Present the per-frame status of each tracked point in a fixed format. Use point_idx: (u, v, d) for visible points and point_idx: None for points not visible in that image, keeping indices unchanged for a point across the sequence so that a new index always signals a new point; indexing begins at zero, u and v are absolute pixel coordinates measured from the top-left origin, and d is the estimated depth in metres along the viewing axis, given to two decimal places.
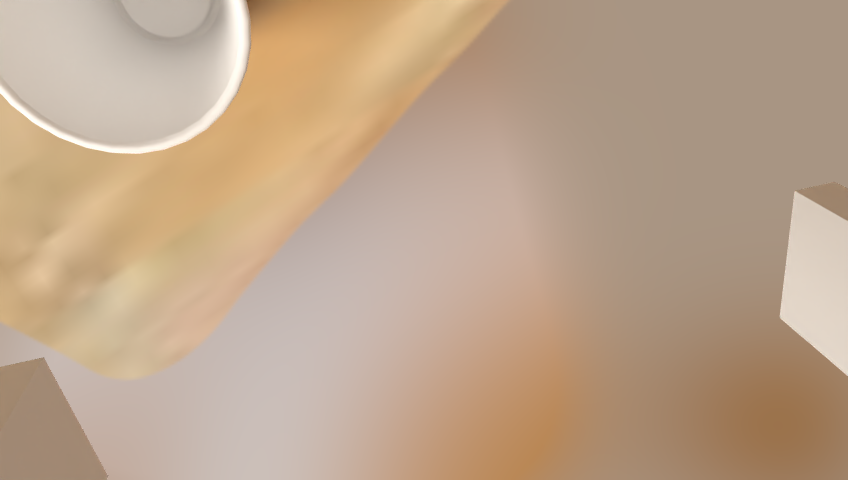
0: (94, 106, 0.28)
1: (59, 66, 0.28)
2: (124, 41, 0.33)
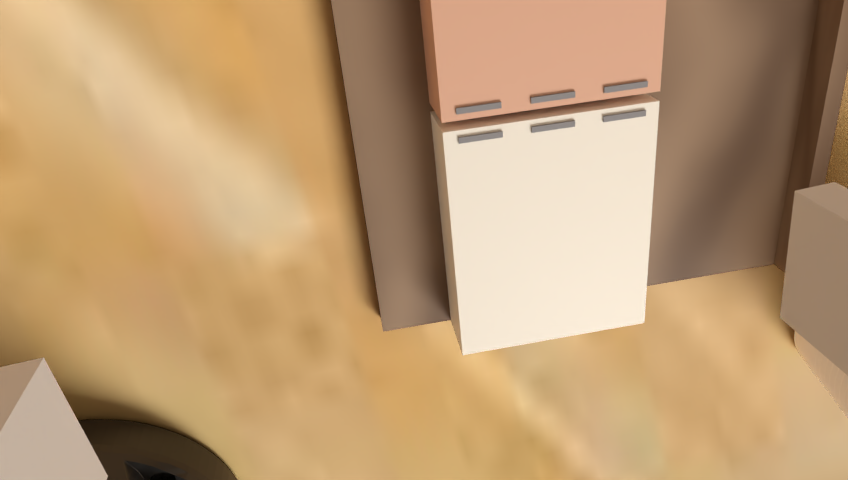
0: None
1: None
2: None
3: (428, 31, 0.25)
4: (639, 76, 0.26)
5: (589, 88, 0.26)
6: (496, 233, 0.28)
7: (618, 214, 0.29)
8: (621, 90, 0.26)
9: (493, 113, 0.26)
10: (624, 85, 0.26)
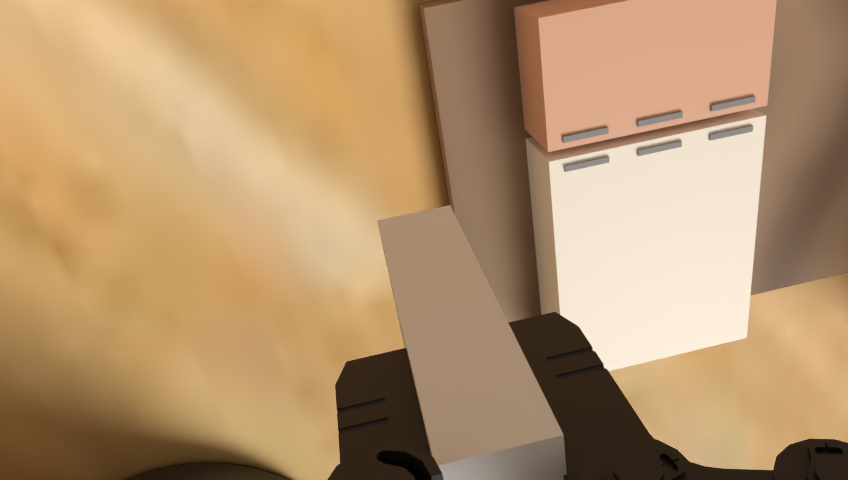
0: None
1: None
2: None
3: (530, 60, 0.25)
4: (746, 92, 0.25)
5: (696, 107, 0.25)
6: (601, 258, 0.28)
7: (722, 231, 0.28)
8: (728, 107, 0.26)
9: (599, 139, 0.25)
10: (731, 102, 0.26)
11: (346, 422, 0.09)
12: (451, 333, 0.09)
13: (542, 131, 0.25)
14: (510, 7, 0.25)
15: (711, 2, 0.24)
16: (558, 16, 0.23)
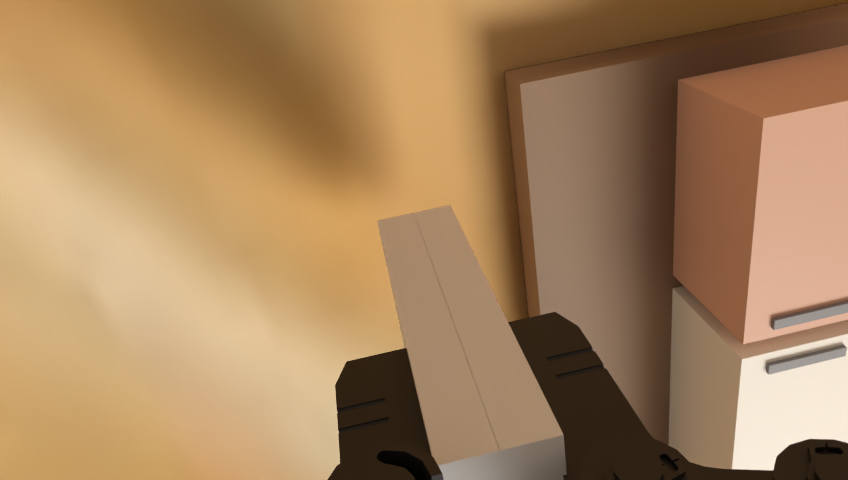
0: None
1: None
2: None
3: (718, 181, 0.14)
4: None
5: None
6: None
7: None
8: None
9: (835, 319, 0.14)
10: None
11: (346, 422, 0.09)
12: (451, 333, 0.09)
13: (731, 305, 0.14)
14: (673, 80, 0.14)
15: None
16: (802, 113, 0.12)
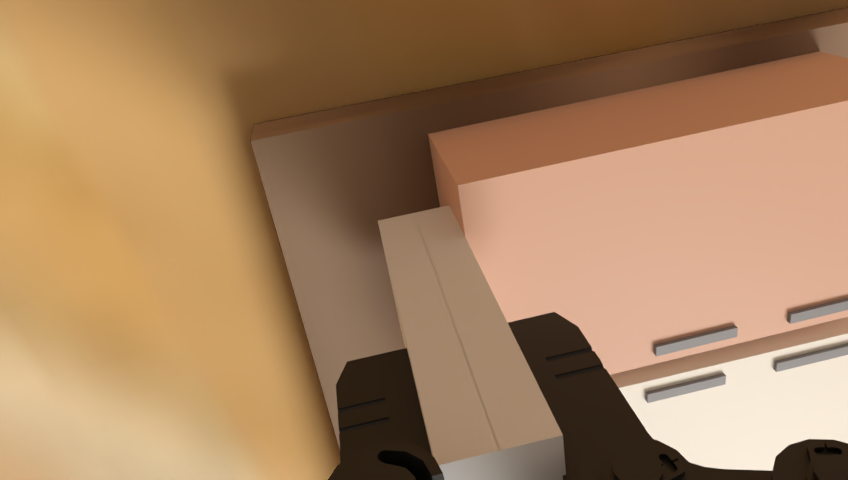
0: None
1: None
2: None
3: None
4: None
5: (762, 318, 0.14)
6: None
7: None
8: (820, 315, 0.14)
9: None
10: (826, 306, 0.14)
11: (346, 422, 0.09)
12: (451, 333, 0.09)
13: None
14: (416, 135, 0.14)
15: (800, 142, 0.12)
16: (499, 179, 0.11)
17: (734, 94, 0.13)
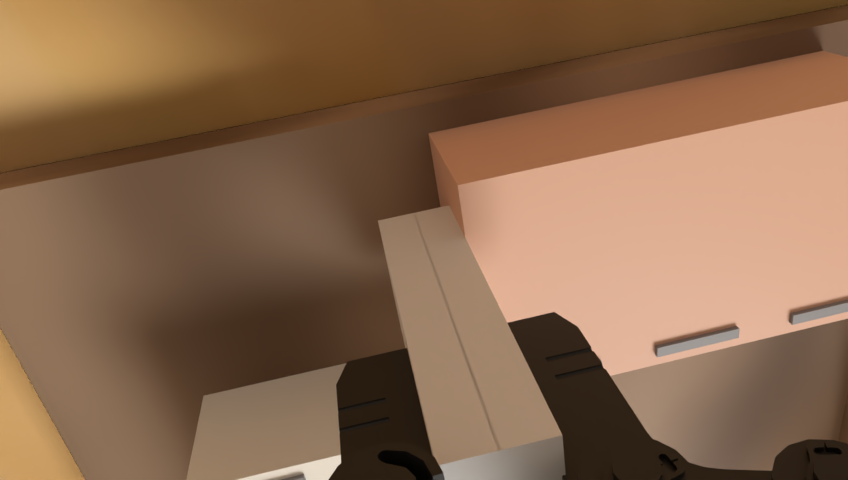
0: None
1: None
2: None
3: None
4: None
5: (764, 318, 0.14)
6: None
7: None
8: (822, 316, 0.14)
9: None
10: (828, 307, 0.14)
11: (347, 422, 0.09)
12: (452, 333, 0.09)
13: None
14: (116, 195, 0.13)
15: (803, 142, 0.12)
16: (499, 179, 0.11)
17: (736, 94, 0.13)
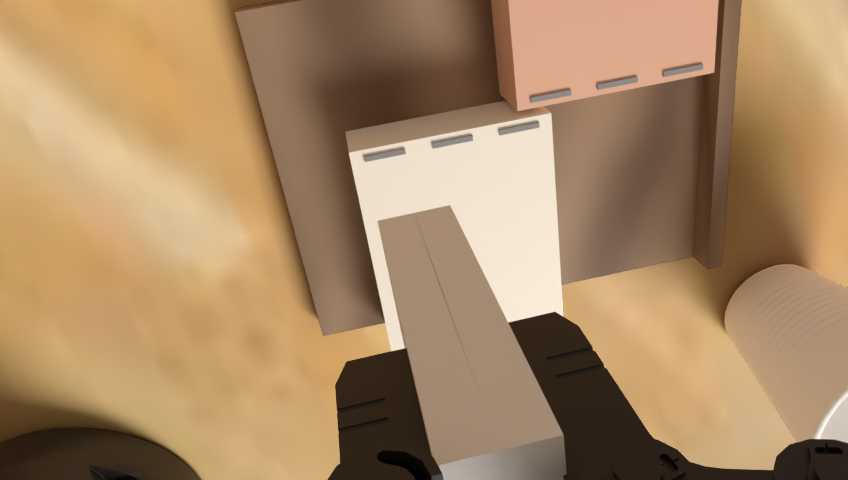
0: None
1: None
2: None
3: (502, 29, 0.28)
4: (695, 60, 0.29)
5: (650, 73, 0.29)
6: None
7: (525, 218, 0.31)
8: (679, 73, 0.29)
9: (563, 100, 0.29)
10: (681, 69, 0.29)
11: (346, 422, 0.09)
12: (451, 333, 0.09)
13: (513, 92, 0.29)
14: (317, 12, 0.28)
15: None
16: None
17: None
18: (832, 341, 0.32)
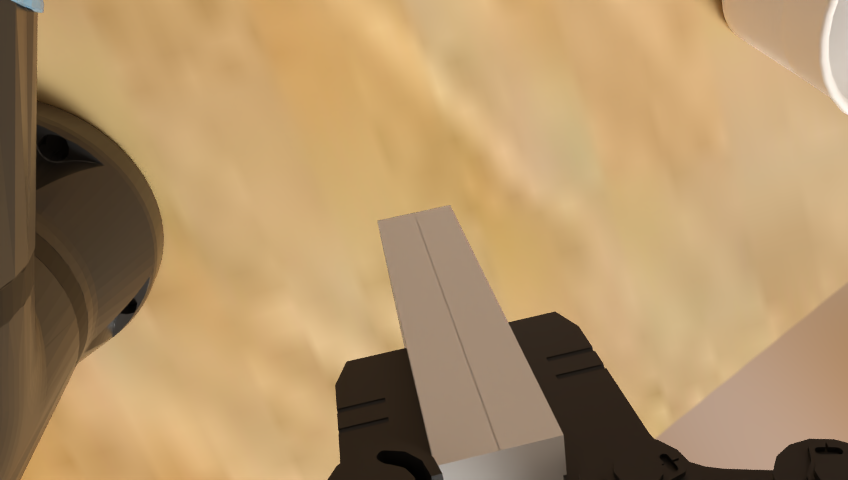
0: None
1: None
2: None
3: None
4: None
5: None
6: None
7: None
8: None
9: None
10: None
11: (346, 422, 0.09)
12: (451, 333, 0.09)
13: None
14: None
15: None
16: None
17: None
18: None
